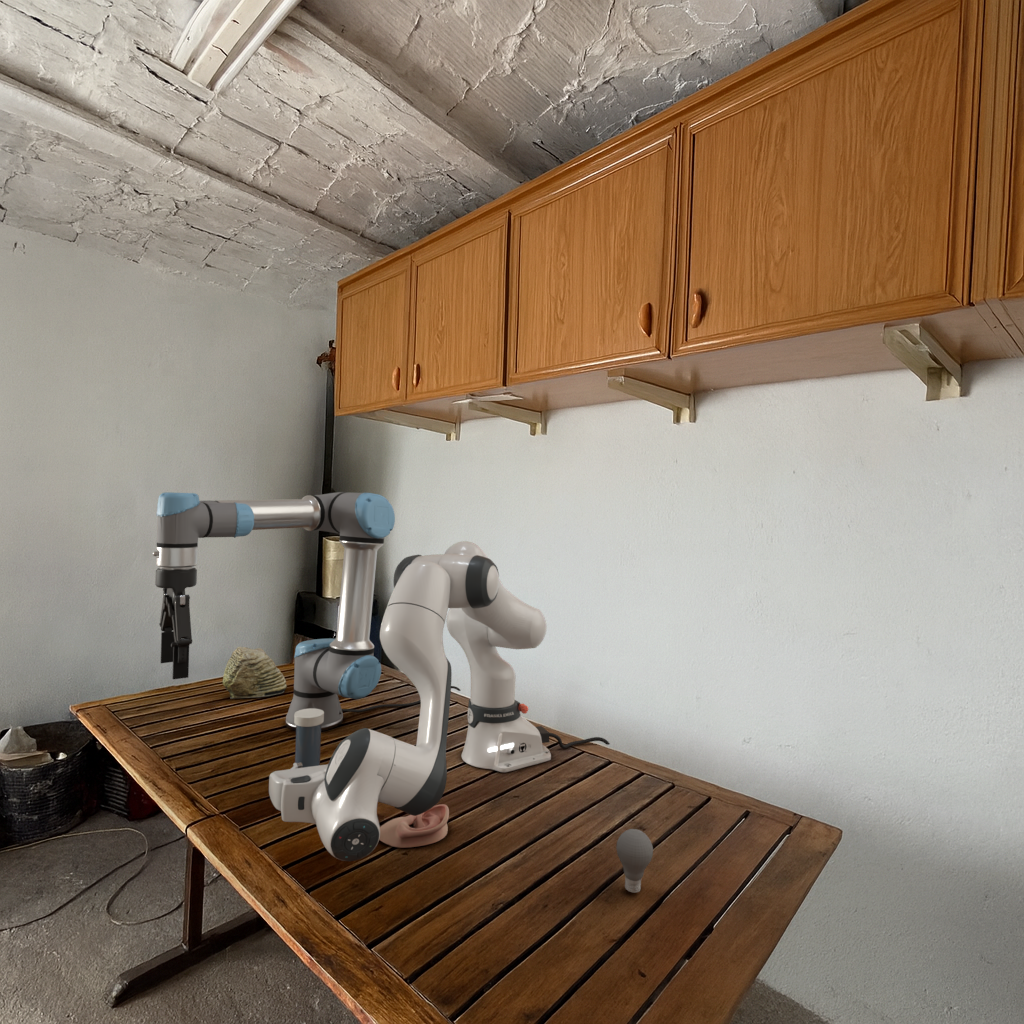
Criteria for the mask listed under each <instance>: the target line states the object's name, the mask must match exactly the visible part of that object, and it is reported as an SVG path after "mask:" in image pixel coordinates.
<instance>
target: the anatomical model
mask: <svg viewBox="0 0 1024 1024" xmlns="http://www.w3.org/2000/svg"><path fill="white" fill-rule="evenodd" d="M449 817H450V809H449V807H448V805H447V804H443V803H442V804H436V805H435V806H433V807H432V808H431V809H429V810H428V811H426V812H424V813H422V814H419V815H417V816H413V815H410V814H408V815H407V816H400V817H395V818H392V819H390V820H388V821H386V822H384V823H383V824H382V825H380V838H379V841H380V842H382V843H384V844H385V845H388V846H391V847H394V848H398V849H399V848H400V849H403V848H414V847H415V848H416V847H423V846H428V845H431V844H434V843H437V842H439V841H441V840H443V839H444V838H446V836H447V835H448V832H449V831H448V829H449V826H448V824H447V823H448V821H449Z"/></svg>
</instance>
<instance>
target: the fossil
mask: <svg viewBox="0 0 1024 1024" xmlns="http://www.w3.org/2000/svg"><path fill="white" fill-rule="evenodd" d="M222 676H223V677H222V685H223V687H224V688H225V690H226V691H228V693H229V698H230V699H250V698H264V697H271V696H275V695H281V694H284V693H285V691H286V689H287V687H288V686H287V680H286V678H285V676H284V674H283V673H282V672H281V669H279V668H278V667H277V665H276V663H275V662H274V660H273V659H272V658H271V657H270V656H269V655H268V654H267V653H266V652H265V650H264V649H263V648H260V647H258V648H251V647H247V646H246V647H245V646H238V647H237V648H236V649H235V650H233V651H232V653H231V656H230V657H229V659H228V660H227V663H226V666H225V668H224V671H223V675H222Z"/></svg>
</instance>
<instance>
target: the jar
mask: <svg viewBox="0 0 1024 1024" xmlns="http://www.w3.org/2000/svg"><path fill="white" fill-rule="evenodd" d="M321 745H322V731H321V724H320V725H317V726H311V727H301V726H297V725H296V731H295V748H294V749H295V751H294V763H300V762H302V765H303V768H304V767H311V766H319V765H321V749H322V748H321V747H322V746H321Z"/></svg>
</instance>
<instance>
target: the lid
mask: <svg viewBox="0 0 1024 1024" xmlns="http://www.w3.org/2000/svg"><path fill="white" fill-rule="evenodd" d="M323 722H324V711H323V710H320V709H314V708H310V709H302V710H299V711H297V712H295V715H294V724H295V725H297V726H301V727H311V726H317V725H320V724H322V723H323Z"/></svg>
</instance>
